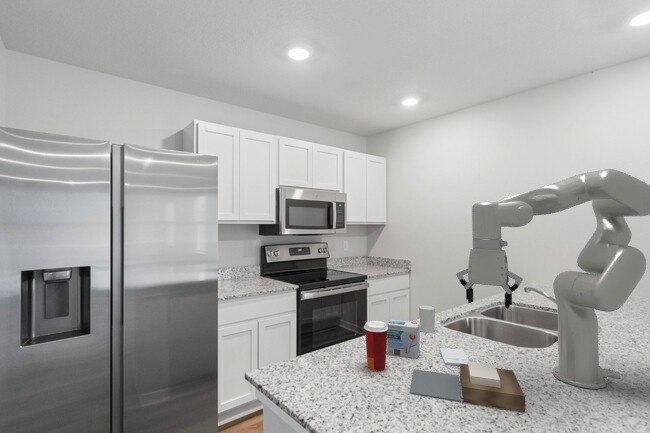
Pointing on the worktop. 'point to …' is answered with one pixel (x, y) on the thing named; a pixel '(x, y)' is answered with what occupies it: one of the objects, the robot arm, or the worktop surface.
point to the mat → (435, 385)
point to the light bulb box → (403, 338)
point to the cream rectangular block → (483, 374)
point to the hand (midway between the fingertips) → (488, 304)
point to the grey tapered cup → (427, 319)
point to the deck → (494, 391)
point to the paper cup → (376, 345)
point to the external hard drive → (453, 357)
